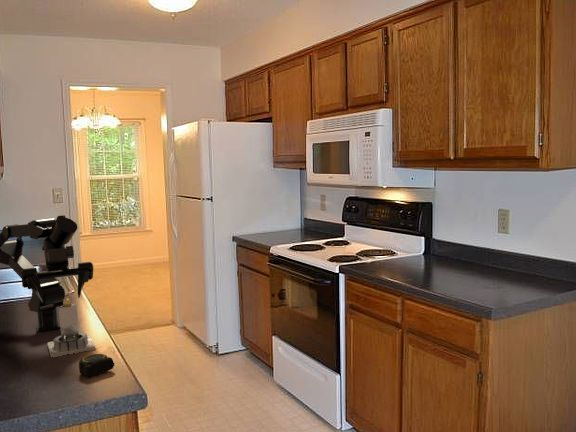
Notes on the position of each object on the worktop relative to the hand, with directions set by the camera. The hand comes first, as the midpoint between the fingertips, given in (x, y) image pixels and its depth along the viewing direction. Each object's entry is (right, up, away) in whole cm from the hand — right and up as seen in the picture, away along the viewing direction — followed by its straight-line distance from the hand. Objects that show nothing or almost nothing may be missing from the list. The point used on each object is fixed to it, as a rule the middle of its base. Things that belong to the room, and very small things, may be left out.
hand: (61, 299), depth 151 cm
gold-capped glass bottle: (+4, -12, -2) cm, 12 cm away
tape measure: (+17, -15, -21) cm, 31 cm away
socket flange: (+4, -13, -2) cm, 13 cm away
